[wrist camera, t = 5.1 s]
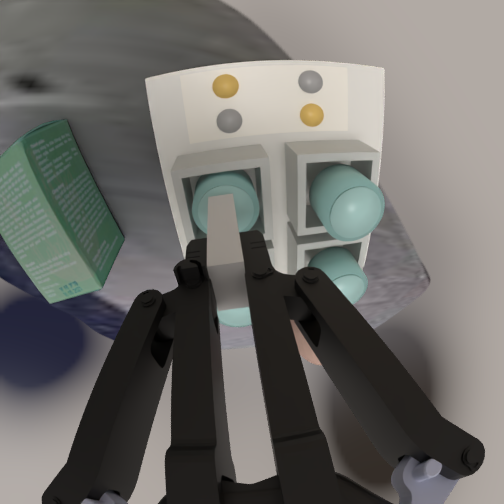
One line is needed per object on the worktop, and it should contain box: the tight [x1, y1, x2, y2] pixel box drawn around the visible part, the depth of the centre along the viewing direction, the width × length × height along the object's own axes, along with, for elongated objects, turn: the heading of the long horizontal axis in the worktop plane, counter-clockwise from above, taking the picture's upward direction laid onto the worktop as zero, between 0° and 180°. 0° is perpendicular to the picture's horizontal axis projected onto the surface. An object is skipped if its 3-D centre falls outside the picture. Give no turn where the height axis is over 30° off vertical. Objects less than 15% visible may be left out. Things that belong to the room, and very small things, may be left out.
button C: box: [309, 164, 385, 241], centre depth 17 cm, size 4×4×3 cm
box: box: [0, 119, 124, 304], centre depth 18 cm, size 7×14×8 cm, turn 15°
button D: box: [307, 247, 368, 305], centre depth 21 cm, size 4×4×3 cm
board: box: [145, 60, 384, 275], centre depth 21 cm, size 20×18×6 cm
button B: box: [217, 307, 252, 327], centre depth 21 cm, size 4×4×3 cm
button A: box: [192, 169, 259, 234], centre depth 19 cm, size 4×4×3 cm
